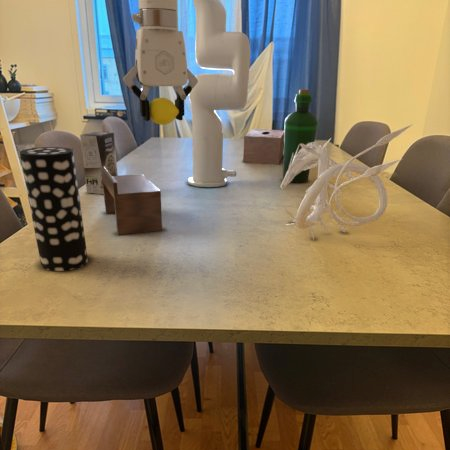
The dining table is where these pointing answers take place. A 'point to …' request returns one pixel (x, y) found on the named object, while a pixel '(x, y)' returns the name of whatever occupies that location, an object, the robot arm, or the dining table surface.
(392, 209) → the dining table surface
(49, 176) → the spotted tube
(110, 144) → the coffee box
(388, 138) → the serpentine dragon sculpture
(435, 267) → the dining table surface
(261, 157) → the tissue box cover
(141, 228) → the shelf
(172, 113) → the lemon
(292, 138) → the bottle
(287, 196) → the dining table surface
